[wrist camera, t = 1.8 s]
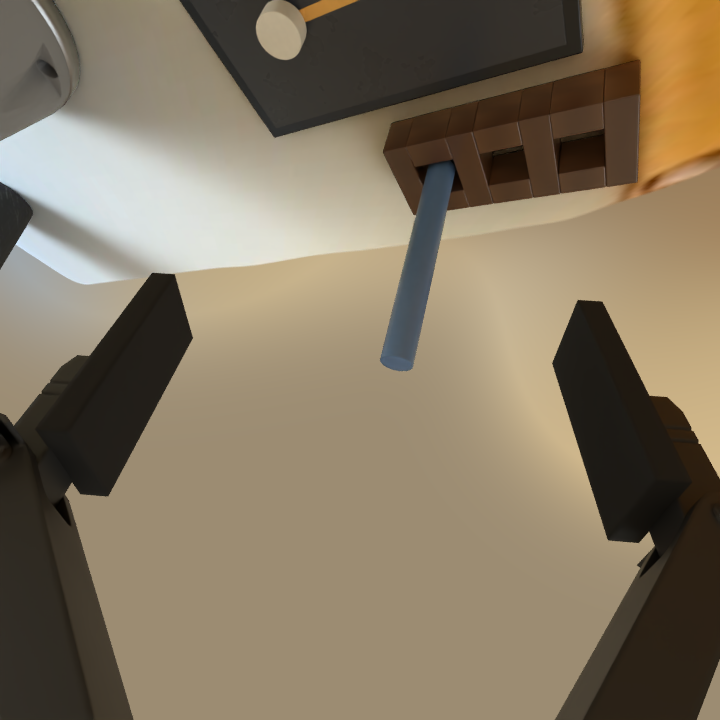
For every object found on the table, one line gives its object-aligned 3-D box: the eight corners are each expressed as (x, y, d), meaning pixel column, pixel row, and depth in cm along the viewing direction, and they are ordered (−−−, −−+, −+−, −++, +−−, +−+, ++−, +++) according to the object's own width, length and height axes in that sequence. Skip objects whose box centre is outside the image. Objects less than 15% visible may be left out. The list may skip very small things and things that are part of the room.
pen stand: (420, 188, 39) (413, 215, 38) (391, 122, 34) (382, 152, 33) (637, 149, 32) (637, 183, 31) (640, 58, 27) (640, 93, 26)
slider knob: (279, 53, 30) (273, 65, 30) (253, 8, 28) (246, 21, 28) (315, 40, 29) (309, 52, 29) (290, -9, 27) (284, 4, 26)
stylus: (437, 162, 37) (387, 371, 29) (429, 141, 35) (374, 356, 28) (462, 157, 36) (417, 371, 29) (455, 135, 34) (405, 356, 27)
